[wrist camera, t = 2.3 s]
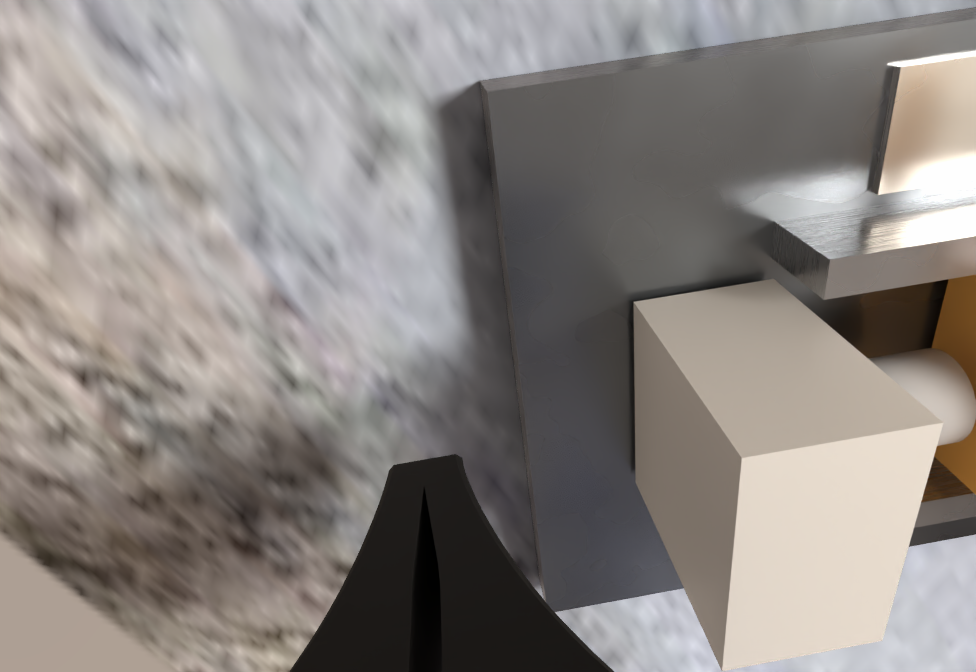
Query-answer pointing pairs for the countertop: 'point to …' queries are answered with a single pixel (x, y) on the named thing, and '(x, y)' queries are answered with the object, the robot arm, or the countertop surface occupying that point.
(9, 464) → the countertop surface
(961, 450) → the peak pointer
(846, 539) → the cream block with peg
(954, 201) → the base
